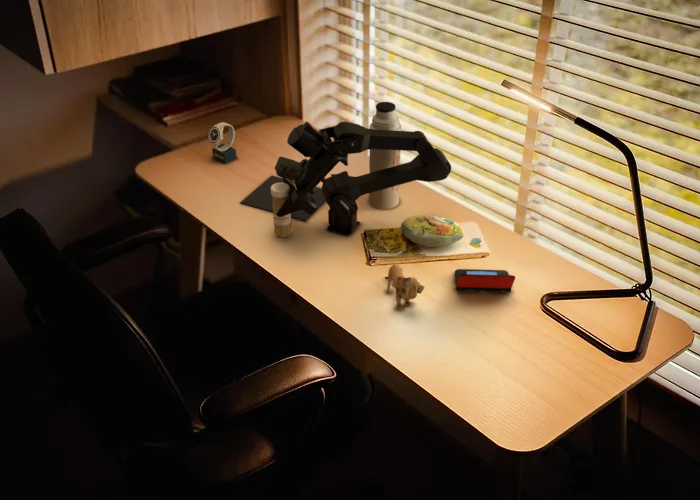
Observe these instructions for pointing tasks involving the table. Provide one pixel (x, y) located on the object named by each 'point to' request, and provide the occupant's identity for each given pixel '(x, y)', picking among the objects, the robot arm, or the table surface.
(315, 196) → the desk mat
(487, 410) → the table surface
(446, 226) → the cell model
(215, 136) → the watch
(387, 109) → the thermos bottle
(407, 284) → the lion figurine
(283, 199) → the sprinkles bottle
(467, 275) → the handheld console
